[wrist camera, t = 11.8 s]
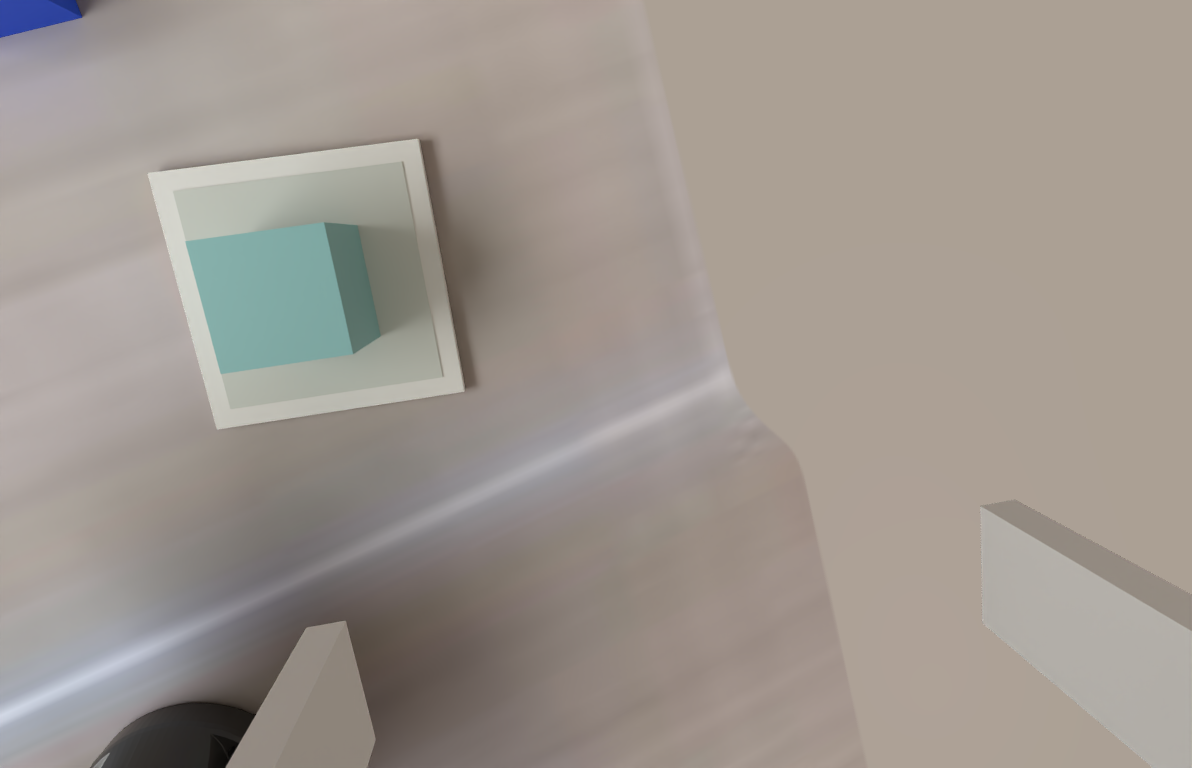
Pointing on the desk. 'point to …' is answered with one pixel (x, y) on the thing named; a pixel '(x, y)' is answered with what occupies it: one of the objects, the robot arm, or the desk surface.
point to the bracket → (34, 14)
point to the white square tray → (393, 260)
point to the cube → (284, 295)
